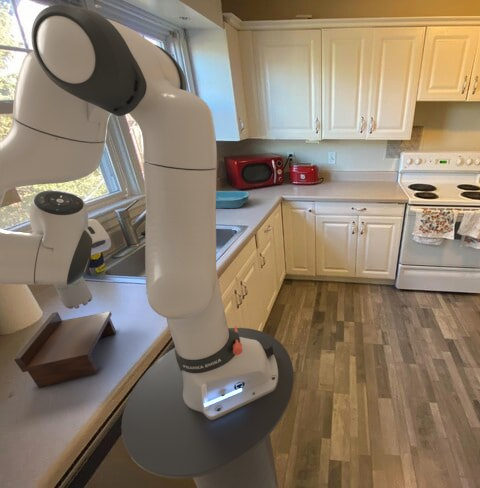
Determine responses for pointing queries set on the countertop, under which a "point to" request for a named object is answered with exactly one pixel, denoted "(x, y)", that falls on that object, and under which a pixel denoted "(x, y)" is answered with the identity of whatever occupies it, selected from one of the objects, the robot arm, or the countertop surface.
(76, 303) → the bottle
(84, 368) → the shelf
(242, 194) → the casserole dish
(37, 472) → the countertop surface
